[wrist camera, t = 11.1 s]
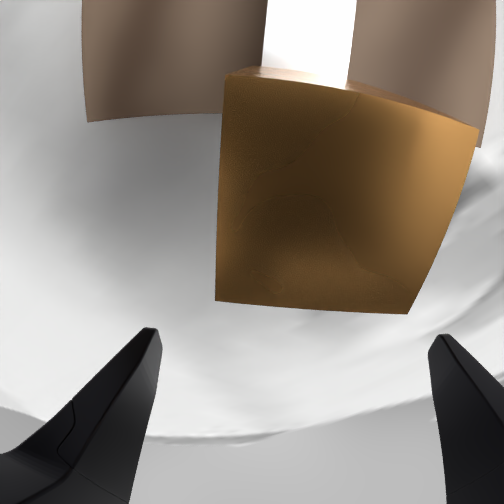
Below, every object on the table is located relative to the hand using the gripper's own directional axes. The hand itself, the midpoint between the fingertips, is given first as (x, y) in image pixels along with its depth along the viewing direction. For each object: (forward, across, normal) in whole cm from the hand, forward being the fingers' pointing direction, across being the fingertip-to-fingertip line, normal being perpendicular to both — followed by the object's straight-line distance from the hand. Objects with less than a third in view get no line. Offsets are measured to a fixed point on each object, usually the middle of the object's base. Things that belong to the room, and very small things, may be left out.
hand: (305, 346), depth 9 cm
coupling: (+5, 0, -12) cm, 13 cm away
